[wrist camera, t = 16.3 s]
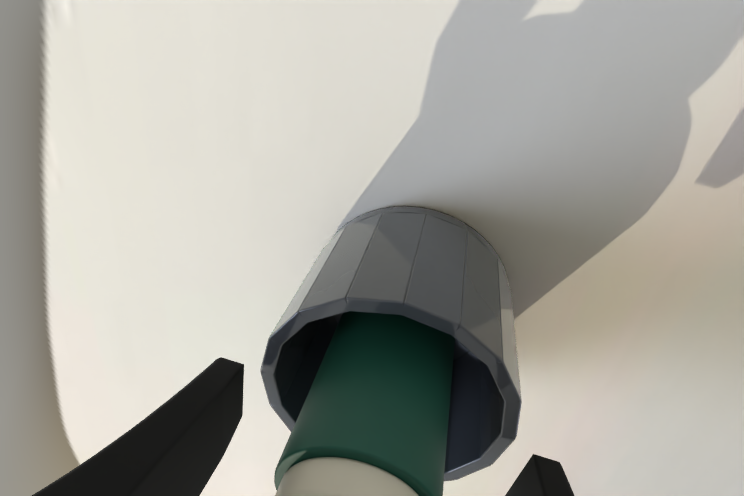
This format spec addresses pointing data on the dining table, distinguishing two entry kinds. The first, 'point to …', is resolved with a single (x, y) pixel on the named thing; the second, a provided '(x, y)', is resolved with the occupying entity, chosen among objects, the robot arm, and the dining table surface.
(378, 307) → the cup
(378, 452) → the cylinder
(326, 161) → the dining table surface
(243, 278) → the dining table surface
